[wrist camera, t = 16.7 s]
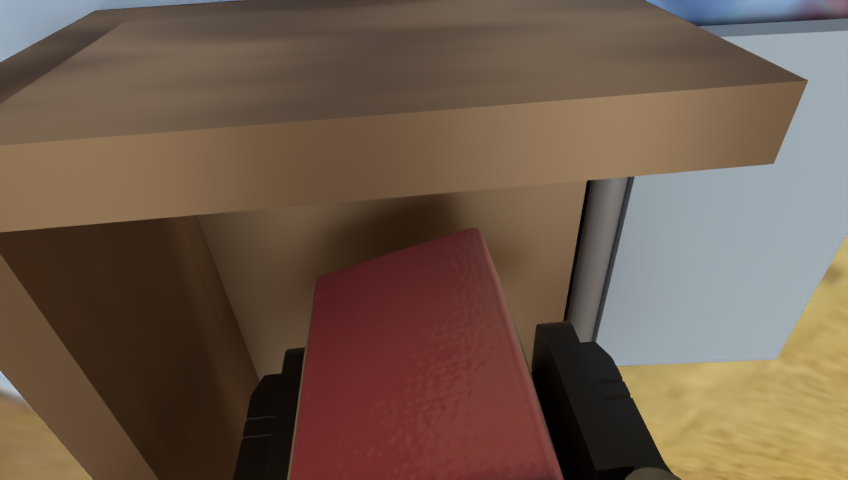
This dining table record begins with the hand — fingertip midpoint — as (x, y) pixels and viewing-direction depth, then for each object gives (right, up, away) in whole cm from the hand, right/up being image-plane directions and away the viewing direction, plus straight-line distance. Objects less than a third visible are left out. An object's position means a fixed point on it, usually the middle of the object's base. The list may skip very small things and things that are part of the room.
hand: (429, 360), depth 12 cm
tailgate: (+5, +3, +4) cm, 7 cm away
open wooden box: (-2, +3, +4) cm, 6 cm away
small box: (0, +1, +1) cm, 2 cm away
